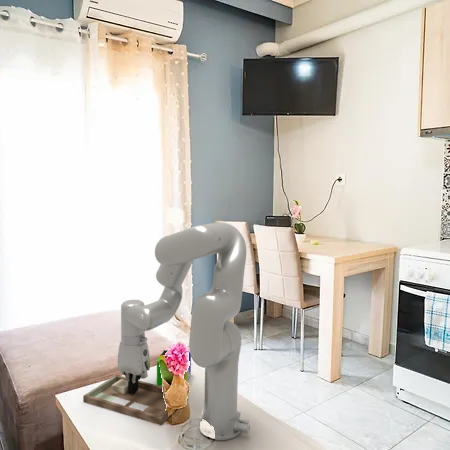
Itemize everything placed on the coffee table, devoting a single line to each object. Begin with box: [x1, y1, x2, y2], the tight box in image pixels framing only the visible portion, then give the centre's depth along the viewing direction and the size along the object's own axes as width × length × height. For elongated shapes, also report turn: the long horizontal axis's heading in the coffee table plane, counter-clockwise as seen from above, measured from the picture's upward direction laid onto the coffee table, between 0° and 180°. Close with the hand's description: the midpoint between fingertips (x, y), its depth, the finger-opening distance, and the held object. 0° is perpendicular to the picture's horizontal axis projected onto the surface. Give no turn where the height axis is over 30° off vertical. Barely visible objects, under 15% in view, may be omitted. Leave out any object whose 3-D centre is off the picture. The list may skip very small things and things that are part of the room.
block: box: [112, 379, 128, 396], centre depth 135 cm, size 5×5×2 cm
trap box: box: [83, 374, 169, 426], centre depth 130 cm, size 29×16×4 cm, turn 66°
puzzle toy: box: [156, 349, 192, 387], centre depth 144 cm, size 10×10×10 cm
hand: (133, 391), depth 134 cm, fingers closed
